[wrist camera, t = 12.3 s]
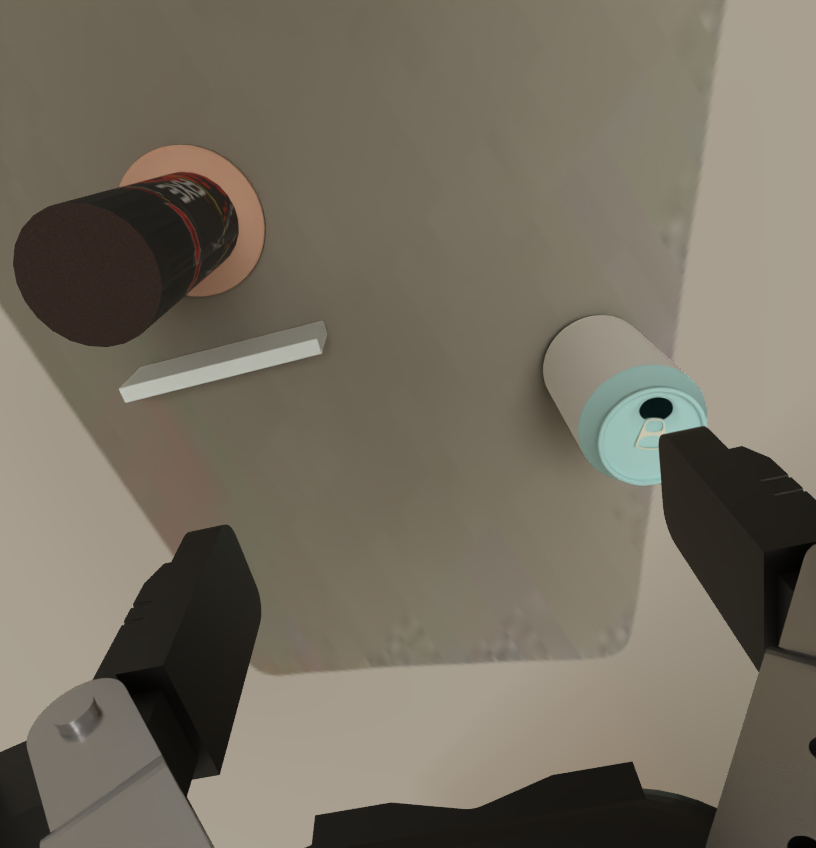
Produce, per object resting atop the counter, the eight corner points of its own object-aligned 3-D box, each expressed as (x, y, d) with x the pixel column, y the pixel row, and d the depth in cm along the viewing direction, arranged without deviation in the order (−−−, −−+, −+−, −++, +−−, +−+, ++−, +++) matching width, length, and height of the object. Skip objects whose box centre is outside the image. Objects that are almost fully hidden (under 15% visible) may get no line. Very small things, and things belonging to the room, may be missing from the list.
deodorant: (243, 182, 40) (165, 218, 26) (234, 279, 42) (158, 358, 29) (142, 162, 39) (9, 187, 26) (139, 261, 42) (16, 333, 28)
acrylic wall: (140, 366, 45) (118, 388, 42) (323, 320, 44) (316, 338, 41) (146, 379, 46) (125, 403, 42) (327, 334, 45) (321, 353, 41)
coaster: (93, 167, 40) (89, 167, 39) (235, 126, 39) (233, 126, 39) (154, 309, 44) (151, 311, 43) (284, 274, 43) (283, 276, 42)
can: (521, 352, 45) (561, 427, 35) (611, 291, 44) (683, 350, 33) (573, 426, 48) (626, 518, 37) (661, 371, 46) (743, 451, 35)
